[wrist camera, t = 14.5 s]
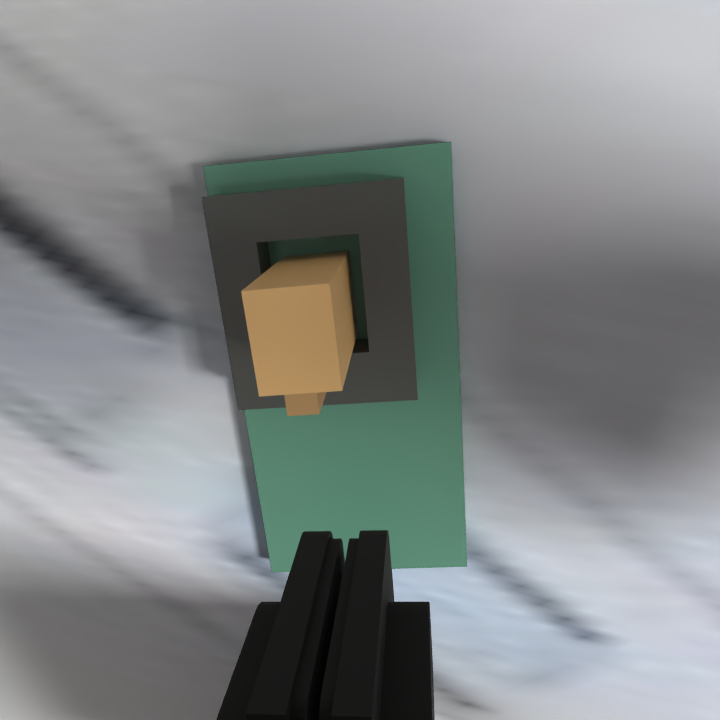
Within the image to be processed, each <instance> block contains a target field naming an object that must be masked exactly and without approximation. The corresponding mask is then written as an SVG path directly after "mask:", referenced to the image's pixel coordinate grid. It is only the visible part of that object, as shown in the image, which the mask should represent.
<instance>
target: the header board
mask: <svg viewBox="0 0 720 720" xmlns="http://www.w3.org/2000/svg"><path fill="white" fill-rule="evenodd" d="M203 169H204V175H205V181H206V187H207V193H208V197H202V202H203V208H204V214H205V220H206V226H207V231H208V237H209V243H210V249H211V254H212V260H213V266H214V272H215V278H216V283H217V289H218V295H219V301H220V306H221V312H222V318H223V324H224V329H225V335H226V341H227V347H228V353H229V358H230V364H231V370H232V376H233V381H234V387H235V393H236V399H237V405H238V410H244V411H245V417H246V423H247V429H248V435H249V441H250V446H251V452H252V458H253V464H254V470H255V476H256V482H257V488H258V494H259V499H260V505H261V511H262V517H263V523H264V529H265V535H266V541H267V547H268V553H269V558H270V564H271V570H272V572H290V570H291V567H292V564H293V560H294V557H295V554H296V551H297V548H298V544H299V541H300V538H301V535H302V533H303V532H304V531H331V532H332V535H333V539H337V538H341V539H342V541H343V548H344V557H345V559H346V553H347V548H348V542H349V539H350V538H359V533H360V531H362V530H388V533H389V542H390V554H391V567H392V569H398V568H432V567H466V566H467V551H466V525H465V498H464V472H463V445H462V419H461V392H460V366H459V340H458V313H457V287H456V260H455V234H454V208H453V181H452V155H451V142H444V143H433V144H423V145H413V146H403V147H393V148H383V149H373V150H363V151H353V152H342V153H332V154H322V155H312V156H302V157H292V158H282V159H272V160H262V161H252V162H241V163H231V164H221V165H211V166H203ZM338 251H349V255H350V264H351V274H352V283H353V292H354V302H355V311H356V320H357V330H358V332H357V336H356V340H355V344H354V347H353V351H352V355H351V359H350V363H349V367H348V371H347V374H346V378H345V382H344V386H343V390H342V391H333V392H327V393H326V396H325V399H324V402H323V405H322V408H321V411H320V414H314V415H298V416H287V410H286V403H285V397H284V395H274V396H260V397H259V393H258V388H257V382H256V376H255V370H254V364H253V358H252V352H251V346H250V340H249V335H248V329H247V323H246V317H245V311H244V305H243V299H242V293H241V291H242V290H243V289H244V288H246V287H247V286H248V285H249V284H251V283H252V282H253V281H254V280H256V279H257V278H258V277H259V276H261V275H262V274H263V273H264V272H266V271H267V270H268V269H269V268H271V267H272V266H273V265H274V264H276V263H277V262H278V261H279V260H280V259H282V258H283V257H284V256H295V255H305V254H316V253H327V252H338Z"/></svg>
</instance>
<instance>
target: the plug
mask: <svg viewBox="0 0 720 720" xmlns="http://www.w3.org/2000/svg"><path fill="white" fill-rule="evenodd" d="M241 293H242V299H243V305H244V311H245V317H246V323H247V329H248V335H249V340H250V346H251V352H252V358H253V364H254V370H255V376H256V382H257V388H258V393H259V397H260V396H274V395H284V397H285V403H286V410H287V416H298V415H314V414H320V411H321V408H322V405H323V402H324V399H325V396H326V393H327V392H333V391H342V390H343V386H344V382H345V378H346V374H347V371H348V367H349V363H350V359H351V355H352V351H353V347H354V344H355V340H356V336H357V332H358V330H357V320H356V311H355V302H354V292H353V283H352V274H351V264H350V255H349V251H338V252H327V253H316V254H305V255H295V256H284V257H283V258H282V259H280V260H279V261H278V262H277V263H276V264H274V265H273V266H272V267H271V268H269V269H268V270H267V271H266V272H264V273H263V274H262V275H261V276H259V277H258V278H257V279H256V280H254V281H253V282H252V283H251V284H249V285H248V286H247V287H246V288H244V289H243V290H242V291H241Z"/></svg>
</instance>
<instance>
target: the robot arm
mask: <svg viewBox="0 0 720 720" xmlns="http://www.w3.org/2000/svg"><path fill="white" fill-rule="evenodd" d="M217 720H434V689H433V662H432V640H431V621H430V604H429V602H394V592H393V580H392V567H391V554H390V542H389V533H388V530H362V531H360V533H359V538H350V539H349V542H348V548H347V553H346V559H345V557H344V548H343V541H342V539H341V538H337V539H333V535H332V532H331V531H304V532H303V533H302V535H301V538H300V541H299V544H298V548H297V551H296V554H295V557H294V560H293V564H292V567H291V570H290V573H289V576H288V580H287V583H286V586H285V589H284V593H283V596H282V599H281V602H261V603H260V604H259V605H258V607H257V609H256V611H255V614H254V617H253V620H252V623H251V625H250V628H249V631H248V634H247V636H246V639H245V642H244V645H243V647H242V650H241V653H240V656H239V659H238V661H237V664H236V667H235V670H234V672H233V675H232V678H231V681H230V684H229V686H228V689H227V692H226V695H225V697H224V700H223V703H222V706H221V708H220V711H219V714H218V717H217Z"/></svg>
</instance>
